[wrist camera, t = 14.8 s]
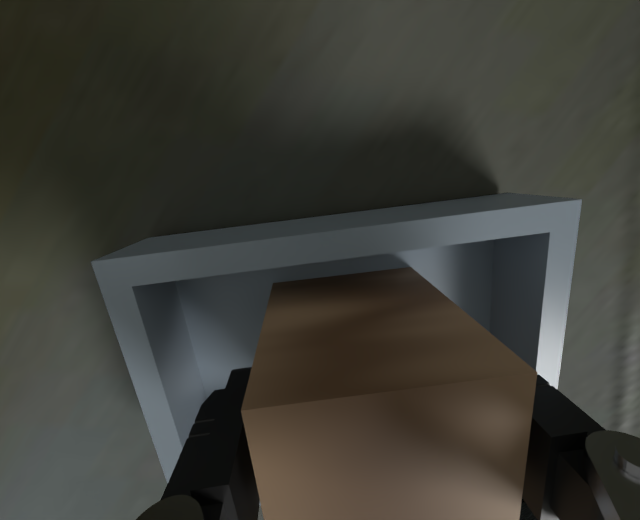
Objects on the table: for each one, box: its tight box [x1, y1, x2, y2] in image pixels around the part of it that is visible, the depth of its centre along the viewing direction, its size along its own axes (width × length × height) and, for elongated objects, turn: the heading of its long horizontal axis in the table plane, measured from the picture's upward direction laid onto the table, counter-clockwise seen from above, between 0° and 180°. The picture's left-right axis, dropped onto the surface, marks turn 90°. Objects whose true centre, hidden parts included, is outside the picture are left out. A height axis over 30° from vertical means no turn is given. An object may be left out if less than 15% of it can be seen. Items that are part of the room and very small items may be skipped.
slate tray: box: [91, 193, 582, 506], centre depth 11 cm, size 13×9×3 cm
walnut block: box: [241, 267, 537, 520], centre depth 9 cm, size 5×5×6 cm
